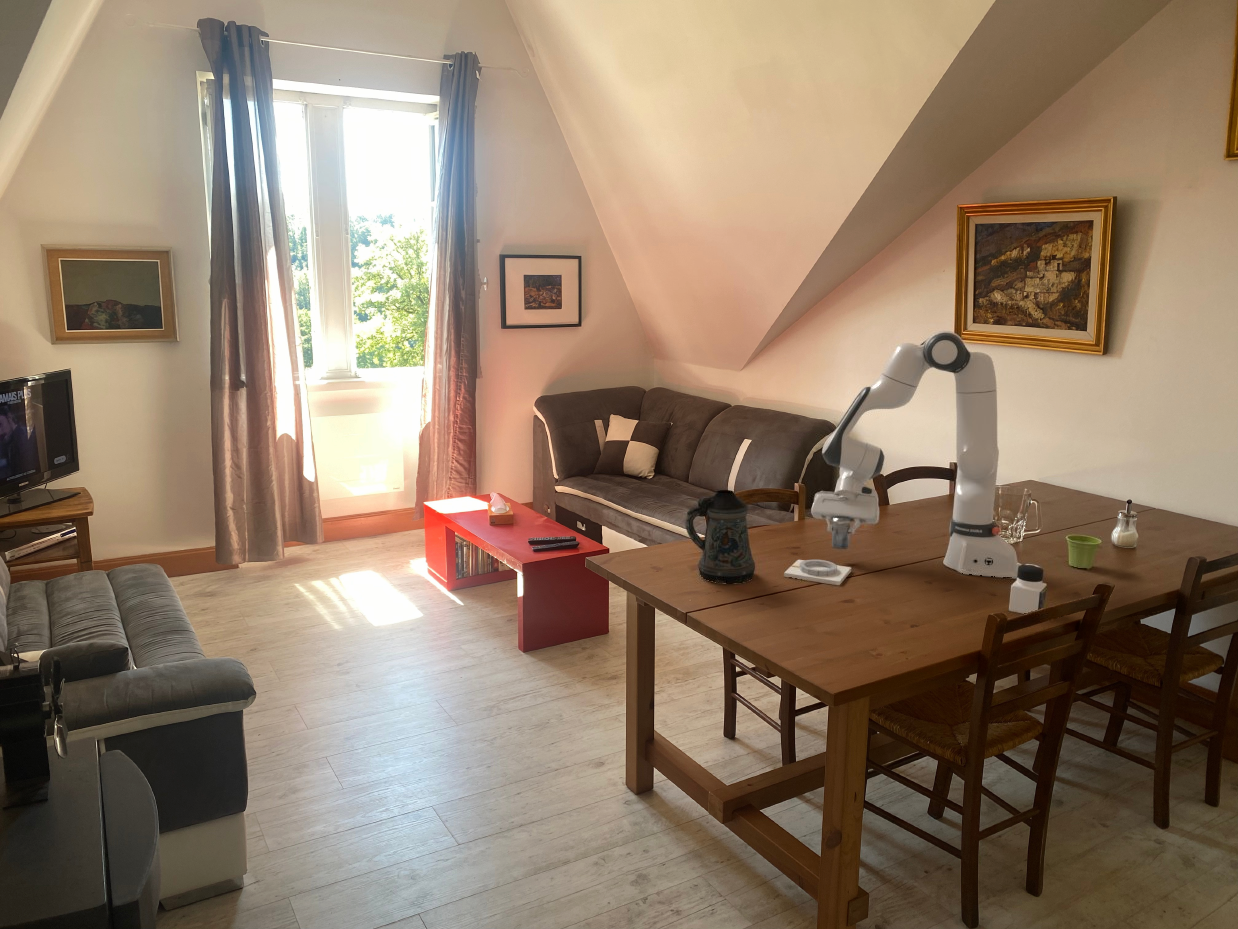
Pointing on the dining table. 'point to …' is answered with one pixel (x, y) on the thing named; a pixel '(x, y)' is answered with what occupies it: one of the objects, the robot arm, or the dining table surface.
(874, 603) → the dining table surface
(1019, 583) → the medicine bottle
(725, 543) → the beer stein
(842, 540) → the coupling
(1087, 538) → the plant pot
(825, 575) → the mounting plate
